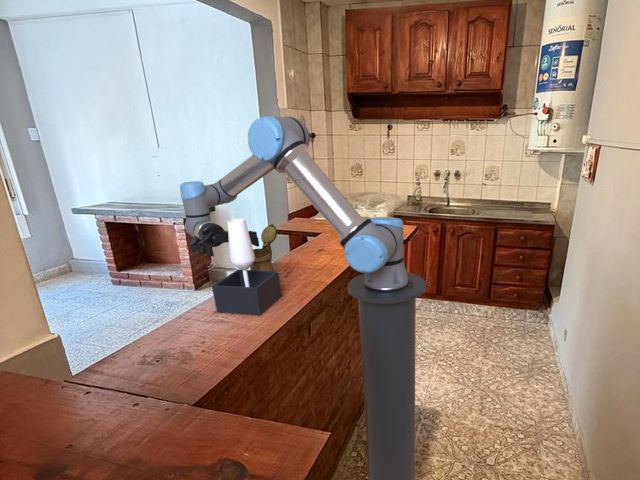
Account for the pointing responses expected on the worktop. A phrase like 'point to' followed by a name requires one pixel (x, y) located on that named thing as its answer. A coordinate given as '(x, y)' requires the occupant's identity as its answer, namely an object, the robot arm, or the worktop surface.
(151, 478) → the worktop surface
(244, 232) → the champagne flute
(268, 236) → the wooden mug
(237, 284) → the dark grey open box
